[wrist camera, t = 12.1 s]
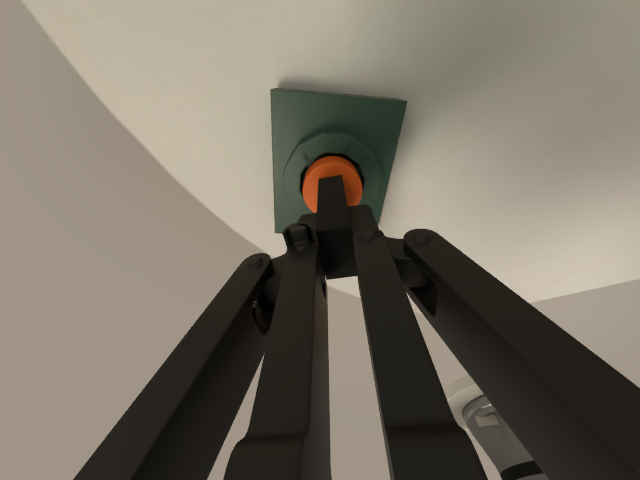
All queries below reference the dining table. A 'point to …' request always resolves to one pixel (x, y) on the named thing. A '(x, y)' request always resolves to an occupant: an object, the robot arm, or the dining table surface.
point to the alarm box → (331, 144)
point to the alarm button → (327, 169)
